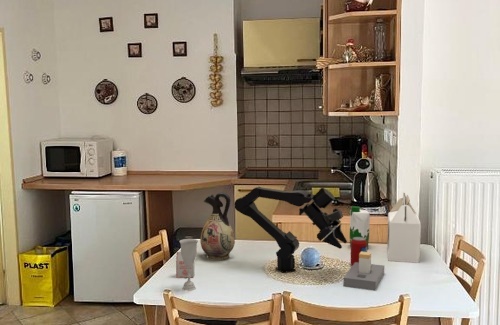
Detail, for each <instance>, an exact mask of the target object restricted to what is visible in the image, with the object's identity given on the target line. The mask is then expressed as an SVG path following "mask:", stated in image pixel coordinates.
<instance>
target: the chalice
mask: <svg viewBox="0 0 500 325" xmlns="http://www.w3.org/2000/svg"><path fill="white" fill-rule="evenodd" d="M198 242H199V240H198V239H195V238H184V239H181V240H179V243H180V252H181V256H182V259H183V261H184V263H185V265H186V266H188V269H187V272H188V275H187V277H188V278H187V280H186V281H185V282H184V283H183V285H182V286H183V287H182V291H186V292H189V291H190V292H192V291H194V290H196V288H197V287H196V285H195V283H194V282H193V281H191V278H190V277H191V275H190V272H191V270H190V266H191V265H193V262H194V263H195V260H196V257H197V252H198V251H197V247H198V245H197V244H198Z"/></svg>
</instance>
